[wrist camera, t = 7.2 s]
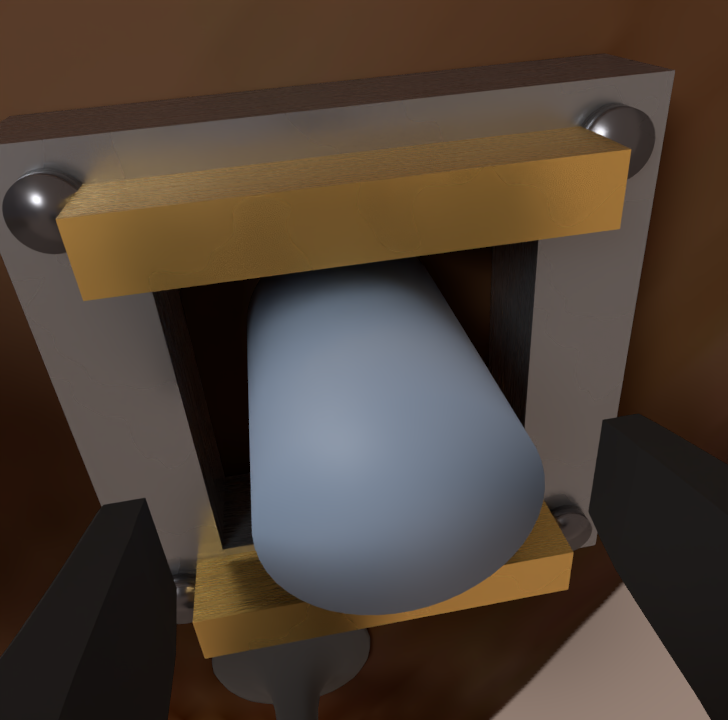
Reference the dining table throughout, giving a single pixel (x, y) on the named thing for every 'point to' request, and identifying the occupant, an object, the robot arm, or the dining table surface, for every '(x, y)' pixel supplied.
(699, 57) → the dining table surface
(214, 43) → the dining table surface
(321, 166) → the grey square frame
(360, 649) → the sundae
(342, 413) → the blue-grey rounded cylinder
